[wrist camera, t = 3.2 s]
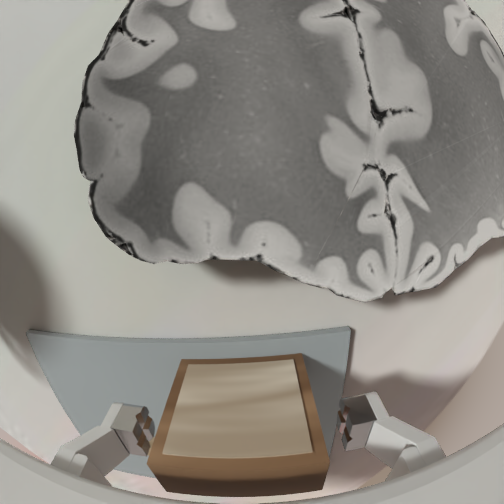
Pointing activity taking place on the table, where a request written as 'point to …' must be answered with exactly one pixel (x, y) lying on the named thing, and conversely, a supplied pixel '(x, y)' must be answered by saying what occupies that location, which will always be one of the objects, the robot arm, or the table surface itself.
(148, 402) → the rubber mat
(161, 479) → the walnut block
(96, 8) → the table surface
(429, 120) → the brain slice
